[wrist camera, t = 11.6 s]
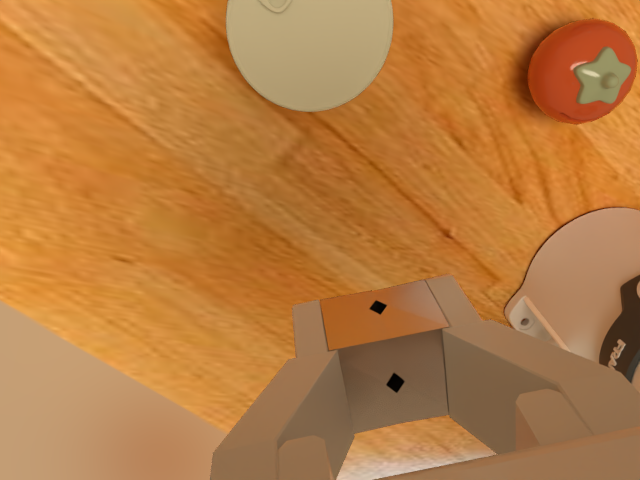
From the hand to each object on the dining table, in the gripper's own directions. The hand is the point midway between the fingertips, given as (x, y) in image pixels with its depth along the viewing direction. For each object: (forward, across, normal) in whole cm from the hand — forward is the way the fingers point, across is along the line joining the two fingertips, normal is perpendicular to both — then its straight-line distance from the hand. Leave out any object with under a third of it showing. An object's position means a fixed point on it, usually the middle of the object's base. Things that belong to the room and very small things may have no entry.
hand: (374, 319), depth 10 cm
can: (+34, -1, -3) cm, 35 cm away
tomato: (+34, -21, +4) cm, 40 cm away
